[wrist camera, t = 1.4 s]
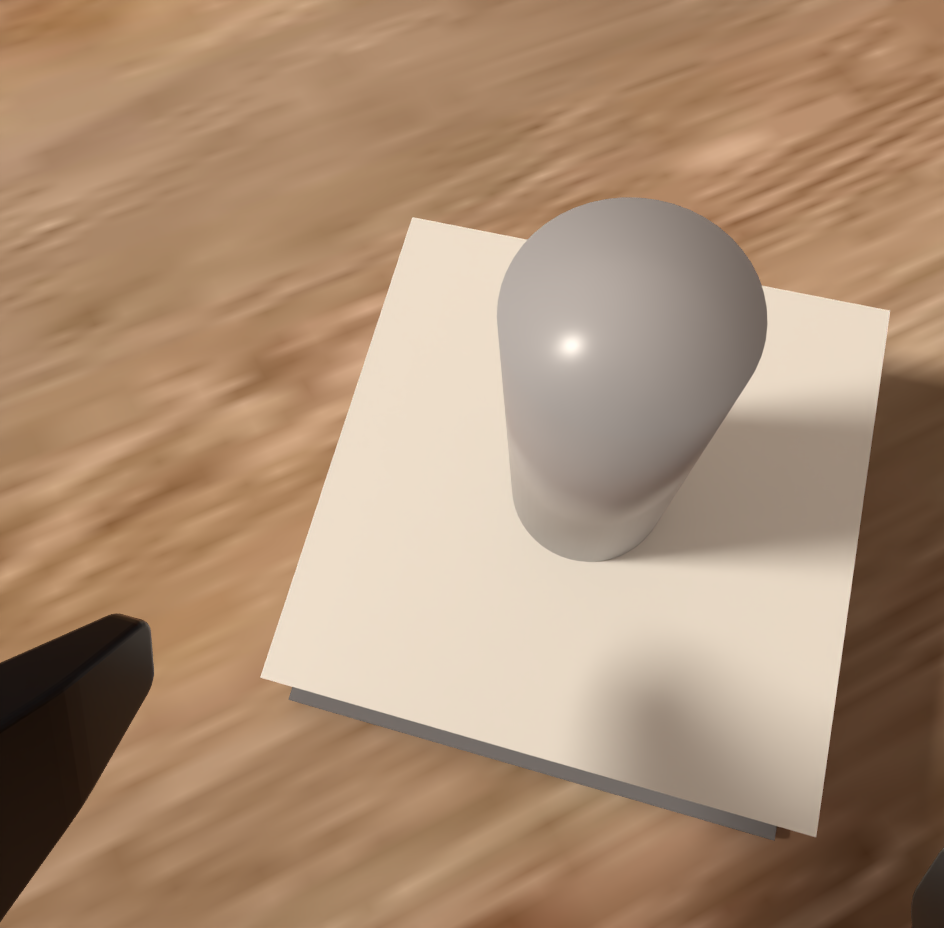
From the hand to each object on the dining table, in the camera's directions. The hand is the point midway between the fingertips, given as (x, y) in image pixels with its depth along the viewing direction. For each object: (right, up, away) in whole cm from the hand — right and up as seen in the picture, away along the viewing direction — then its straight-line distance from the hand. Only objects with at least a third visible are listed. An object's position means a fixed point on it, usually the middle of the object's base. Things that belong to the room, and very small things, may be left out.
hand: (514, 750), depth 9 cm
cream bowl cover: (+2, +1, +12) cm, 12 cm away
